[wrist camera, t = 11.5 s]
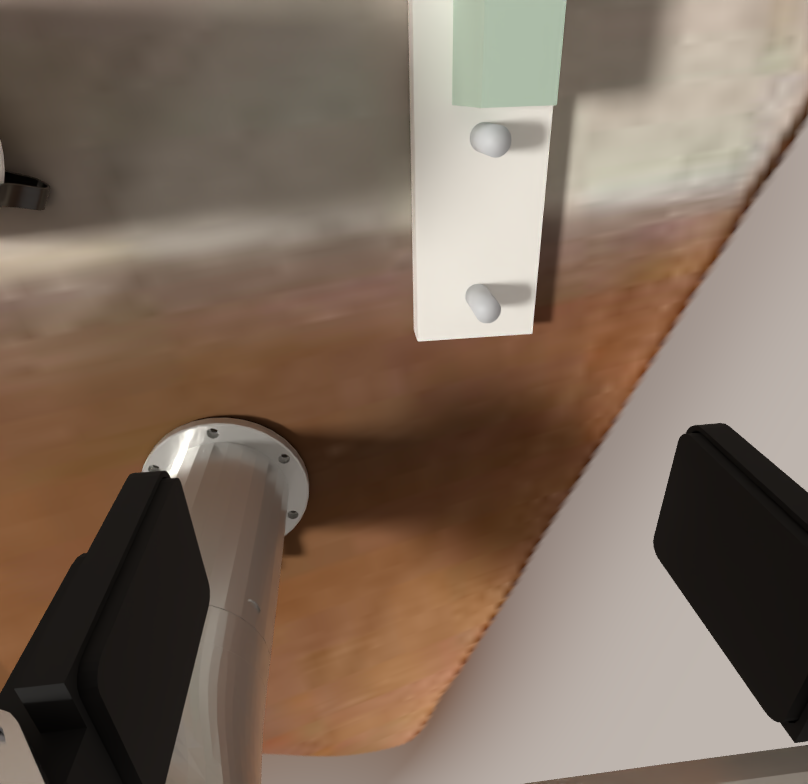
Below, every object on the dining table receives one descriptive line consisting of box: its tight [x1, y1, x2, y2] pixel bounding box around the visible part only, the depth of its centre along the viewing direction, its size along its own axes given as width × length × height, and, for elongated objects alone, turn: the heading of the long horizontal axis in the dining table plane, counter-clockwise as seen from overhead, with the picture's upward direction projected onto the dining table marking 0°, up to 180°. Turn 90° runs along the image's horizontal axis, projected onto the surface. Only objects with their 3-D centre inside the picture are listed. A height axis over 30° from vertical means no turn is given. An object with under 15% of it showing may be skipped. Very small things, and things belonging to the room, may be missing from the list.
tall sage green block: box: [452, 0, 567, 108], centre depth 27 cm, size 6×4×7 cm, turn 2°
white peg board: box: [408, 0, 553, 341], centre depth 31 cm, size 25×8×5 cm, turn 1°
